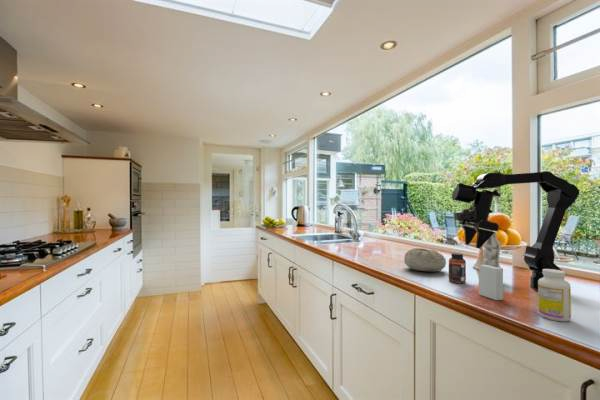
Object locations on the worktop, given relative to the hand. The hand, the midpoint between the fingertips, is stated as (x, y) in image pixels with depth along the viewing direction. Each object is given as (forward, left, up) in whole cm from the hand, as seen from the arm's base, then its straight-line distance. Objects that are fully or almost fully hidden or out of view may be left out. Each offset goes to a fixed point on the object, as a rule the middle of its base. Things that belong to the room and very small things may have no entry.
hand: (472, 246), depth 106 cm
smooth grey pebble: (+15, -21, -15) cm, 30 cm away
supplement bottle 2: (-15, +25, -15) cm, 33 cm away
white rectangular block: (-3, +12, -15) cm, 19 cm away
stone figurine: (-9, -11, -15) cm, 21 cm away
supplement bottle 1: (+4, -5, -15) cm, 17 cm away
